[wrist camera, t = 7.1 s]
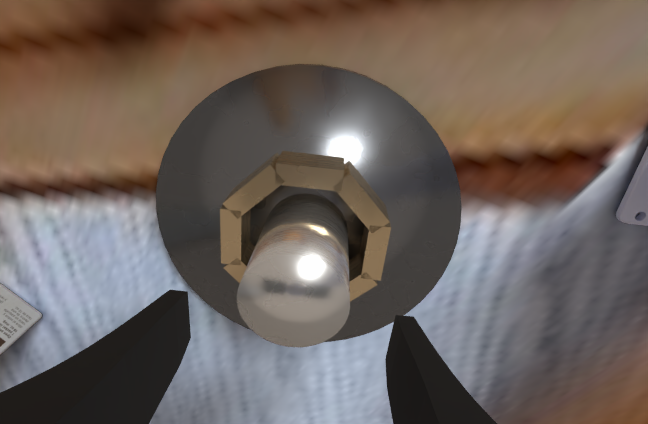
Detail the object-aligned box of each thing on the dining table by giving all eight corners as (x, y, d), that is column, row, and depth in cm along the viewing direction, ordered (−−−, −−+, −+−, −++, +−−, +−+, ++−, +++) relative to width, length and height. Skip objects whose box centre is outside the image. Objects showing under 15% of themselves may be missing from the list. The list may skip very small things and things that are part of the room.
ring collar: (493, 83, 17) (521, 91, 15) (421, 343, 24) (431, 381, 21) (150, 45, 17) (115, 47, 15) (174, 316, 24) (153, 351, 21)
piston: (361, 213, 19) (369, 281, 14) (327, 277, 21) (322, 360, 16) (282, 180, 19) (258, 237, 13) (254, 249, 20) (222, 324, 15)
